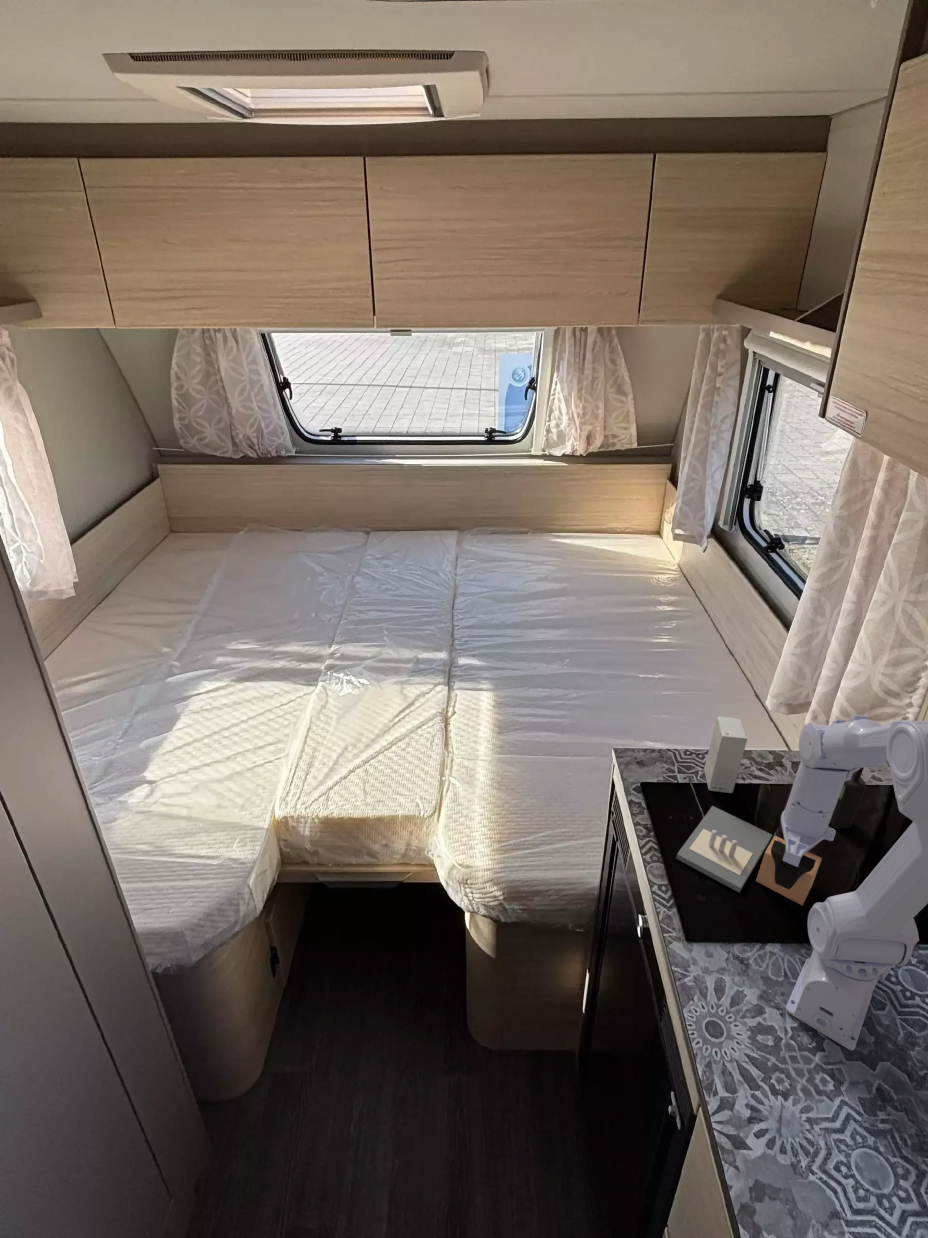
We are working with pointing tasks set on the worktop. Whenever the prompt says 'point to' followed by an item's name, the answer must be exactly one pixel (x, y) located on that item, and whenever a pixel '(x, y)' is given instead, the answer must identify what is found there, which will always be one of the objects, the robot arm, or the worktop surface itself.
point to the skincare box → (725, 754)
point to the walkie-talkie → (848, 801)
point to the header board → (724, 848)
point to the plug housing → (801, 885)
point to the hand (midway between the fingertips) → (788, 868)
